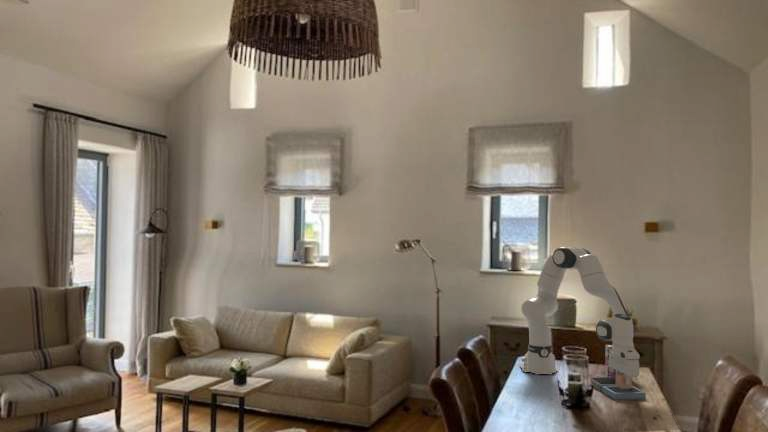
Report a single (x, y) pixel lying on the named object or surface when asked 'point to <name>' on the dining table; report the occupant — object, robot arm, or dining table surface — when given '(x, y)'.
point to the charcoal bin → (602, 382)
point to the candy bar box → (608, 370)
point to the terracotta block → (622, 381)
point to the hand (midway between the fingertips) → (623, 382)
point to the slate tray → (623, 393)
